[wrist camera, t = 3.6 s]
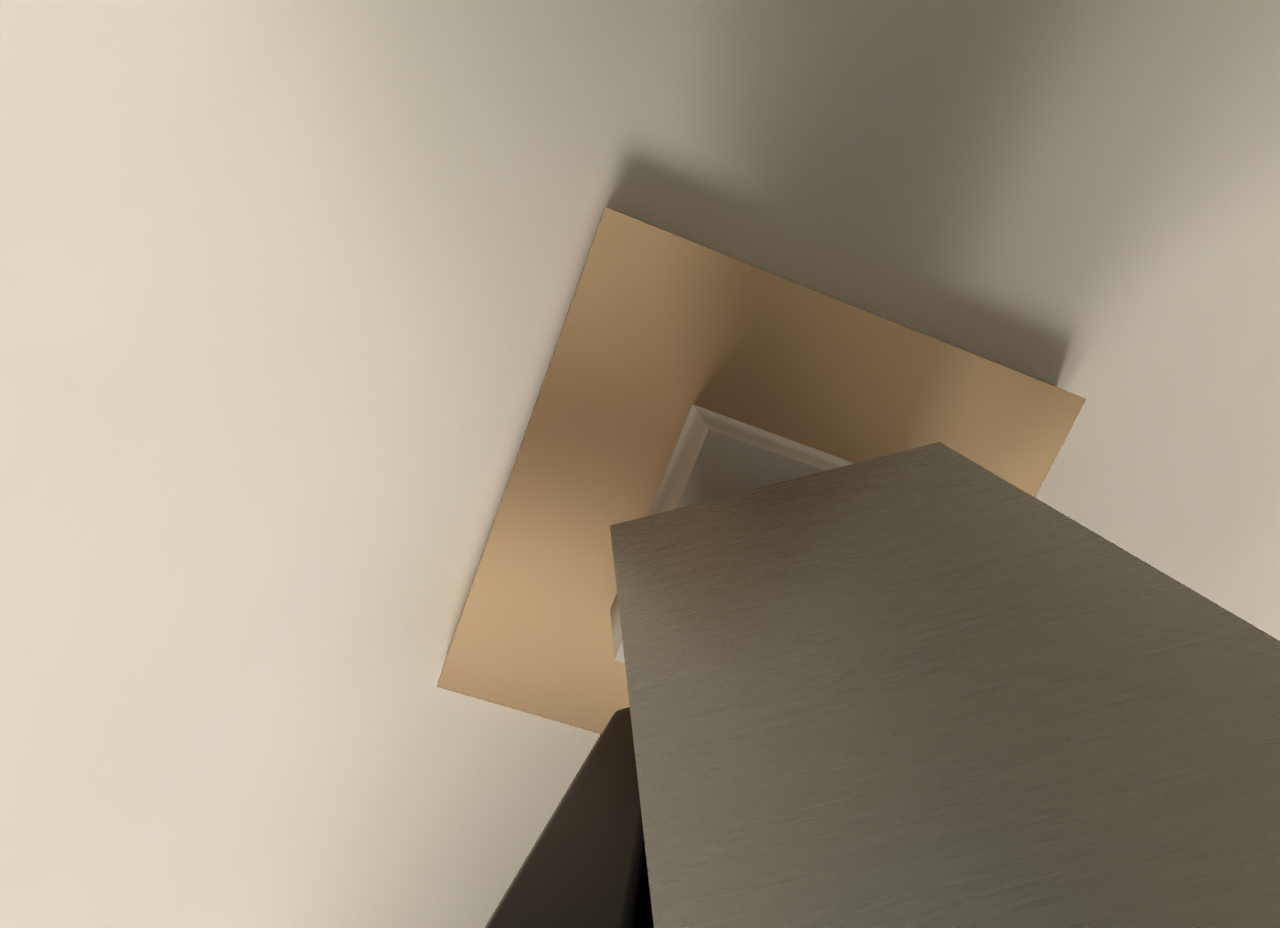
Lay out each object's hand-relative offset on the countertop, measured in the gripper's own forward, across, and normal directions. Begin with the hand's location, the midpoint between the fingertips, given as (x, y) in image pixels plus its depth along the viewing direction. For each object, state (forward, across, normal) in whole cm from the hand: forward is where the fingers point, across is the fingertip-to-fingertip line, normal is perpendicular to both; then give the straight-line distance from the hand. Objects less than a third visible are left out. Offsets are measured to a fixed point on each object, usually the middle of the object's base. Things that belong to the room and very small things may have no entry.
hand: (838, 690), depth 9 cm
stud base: (+5, 0, 0) cm, 5 cm away
